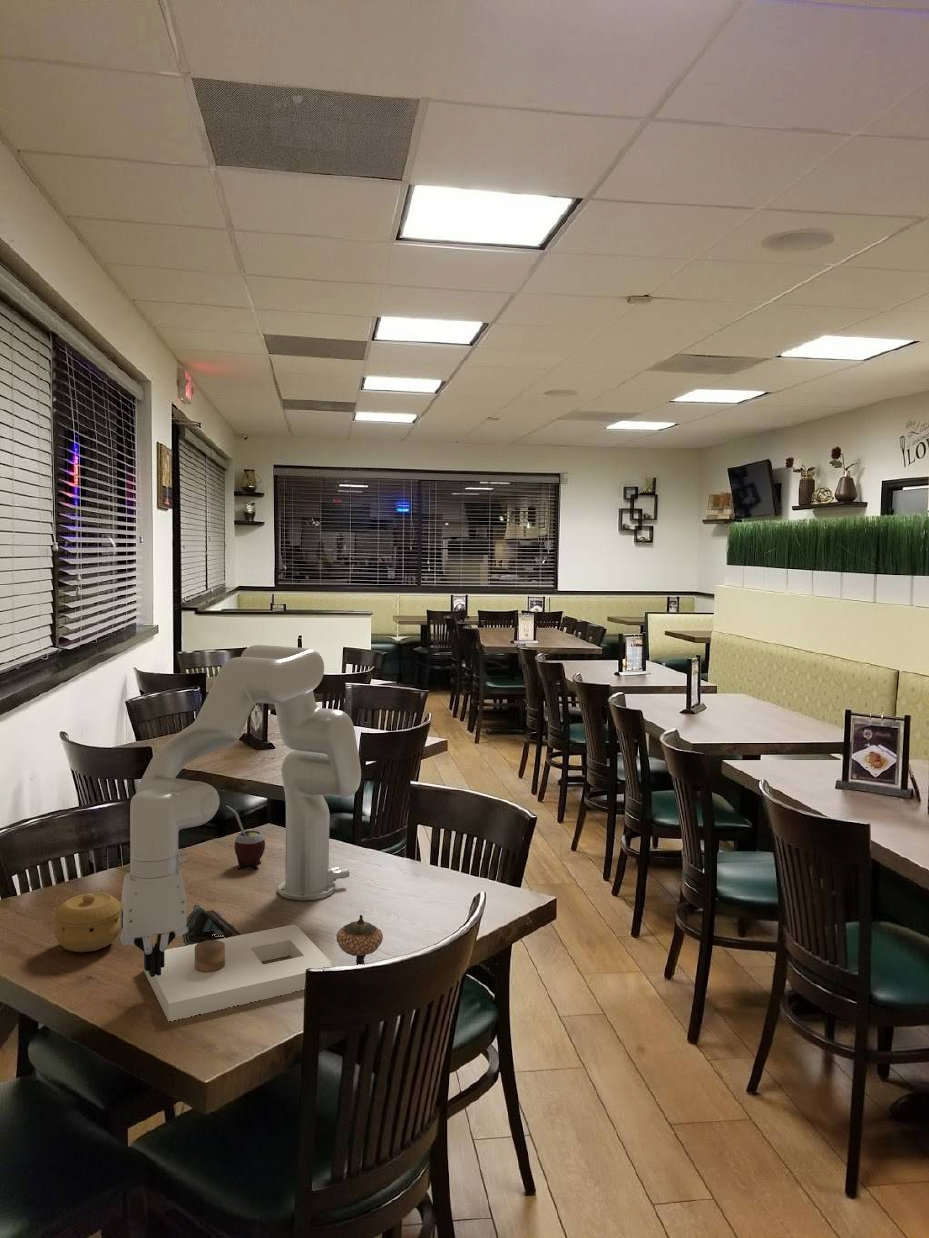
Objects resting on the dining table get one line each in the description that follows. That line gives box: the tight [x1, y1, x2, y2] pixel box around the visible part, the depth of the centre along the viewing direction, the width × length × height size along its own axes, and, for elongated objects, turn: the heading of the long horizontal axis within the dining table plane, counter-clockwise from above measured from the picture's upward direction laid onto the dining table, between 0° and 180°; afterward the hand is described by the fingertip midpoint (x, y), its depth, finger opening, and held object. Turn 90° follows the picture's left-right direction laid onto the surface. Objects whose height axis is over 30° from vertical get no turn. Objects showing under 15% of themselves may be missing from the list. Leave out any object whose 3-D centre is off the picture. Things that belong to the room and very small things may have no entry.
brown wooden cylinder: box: [195, 940, 225, 973], centre depth 152 cm, size 5×5×4 cm
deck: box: [143, 924, 335, 1022], centre depth 155 cm, size 28×20×3 cm
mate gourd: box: [225, 805, 266, 871], centre depth 210 cm, size 8×8×15 cm
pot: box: [53, 892, 122, 953], centre depth 165 cm, size 12×12×10 cm
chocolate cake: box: [181, 904, 243, 946], centre depth 170 cm, size 10×7×12 cm
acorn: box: [335, 914, 384, 966], centre depth 159 cm, size 8×8×10 cm
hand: (154, 972), depth 147 cm, fingers closed
